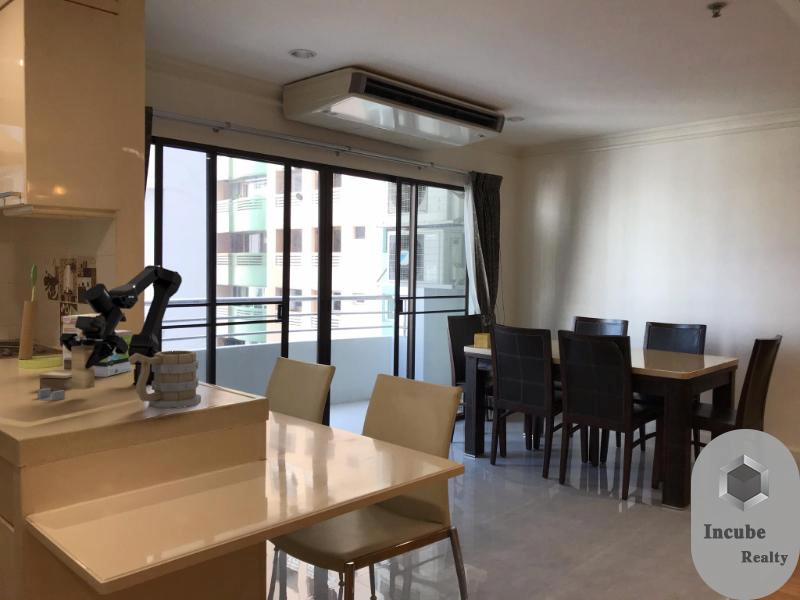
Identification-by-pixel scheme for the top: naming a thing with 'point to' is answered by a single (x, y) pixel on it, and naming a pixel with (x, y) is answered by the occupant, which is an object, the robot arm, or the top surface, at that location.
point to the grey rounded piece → (46, 395)
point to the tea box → (115, 359)
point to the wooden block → (82, 367)
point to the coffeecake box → (72, 331)
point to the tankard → (169, 378)
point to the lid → (60, 371)
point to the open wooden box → (56, 383)
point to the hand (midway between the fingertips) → (79, 367)
